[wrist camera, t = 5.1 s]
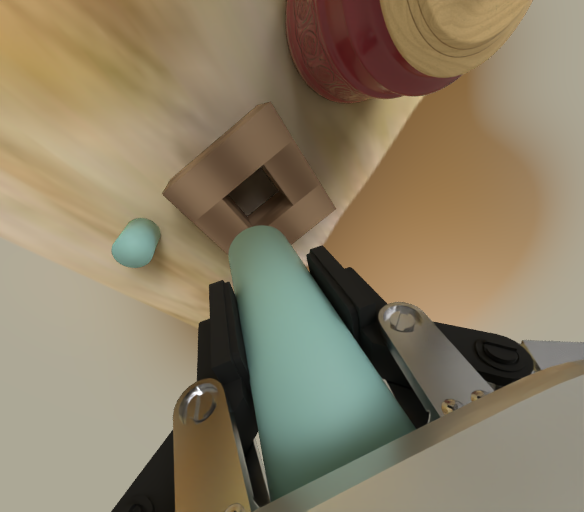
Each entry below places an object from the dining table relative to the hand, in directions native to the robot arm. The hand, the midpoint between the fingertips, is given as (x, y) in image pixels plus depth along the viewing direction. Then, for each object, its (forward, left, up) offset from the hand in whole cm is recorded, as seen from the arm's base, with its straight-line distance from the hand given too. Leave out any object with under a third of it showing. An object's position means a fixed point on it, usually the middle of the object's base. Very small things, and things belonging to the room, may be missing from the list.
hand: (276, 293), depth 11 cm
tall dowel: (0, 0, -4) cm, 4 cm away
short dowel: (+11, +2, -21) cm, 24 cm away
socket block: (-2, +1, -21) cm, 21 cm away
